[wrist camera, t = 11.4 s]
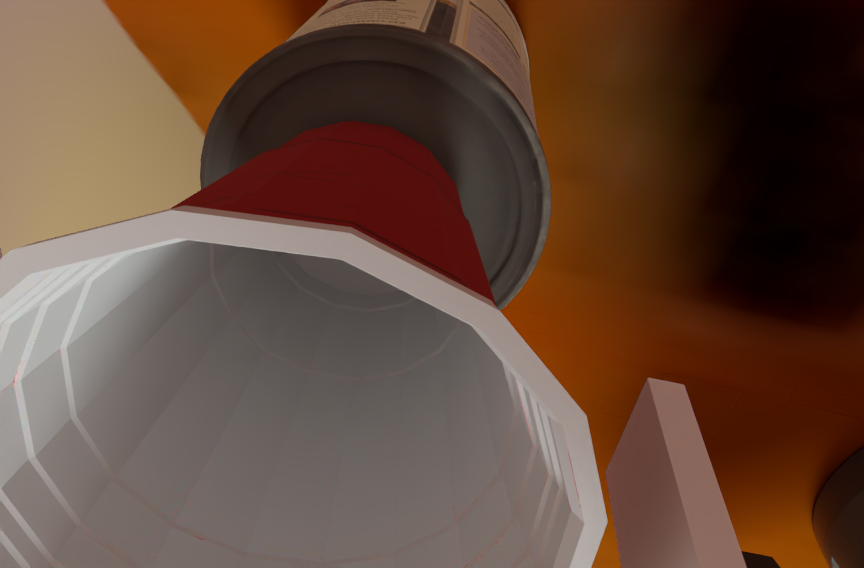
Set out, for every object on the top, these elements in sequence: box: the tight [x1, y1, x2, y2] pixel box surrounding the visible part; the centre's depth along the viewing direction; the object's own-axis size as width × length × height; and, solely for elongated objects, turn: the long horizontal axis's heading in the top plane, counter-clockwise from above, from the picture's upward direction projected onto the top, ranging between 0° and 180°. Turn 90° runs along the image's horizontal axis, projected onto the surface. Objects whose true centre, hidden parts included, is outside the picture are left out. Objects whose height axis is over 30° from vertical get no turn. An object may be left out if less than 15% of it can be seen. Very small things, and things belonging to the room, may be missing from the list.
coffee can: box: [200, 0, 551, 311], centre depth 27 cm, size 10×10×14 cm
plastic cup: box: [0, 121, 608, 568], centre depth 16 cm, size 11×11×12 cm
